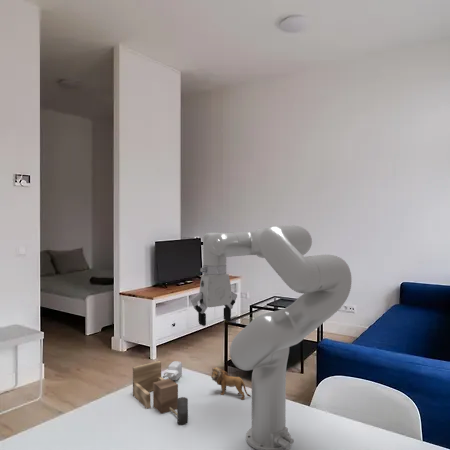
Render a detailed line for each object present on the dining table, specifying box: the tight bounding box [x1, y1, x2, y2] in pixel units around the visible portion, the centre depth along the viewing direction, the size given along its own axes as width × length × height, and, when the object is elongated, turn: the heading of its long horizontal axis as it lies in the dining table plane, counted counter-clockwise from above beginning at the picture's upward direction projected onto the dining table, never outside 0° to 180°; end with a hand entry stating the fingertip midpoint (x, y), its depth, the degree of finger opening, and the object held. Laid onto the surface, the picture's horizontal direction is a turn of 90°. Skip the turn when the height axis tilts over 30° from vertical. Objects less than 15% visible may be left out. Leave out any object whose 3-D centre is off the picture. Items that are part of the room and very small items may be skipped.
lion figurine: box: [210, 366, 252, 401], centre depth 142 cm, size 15×5×9 cm, turn 70°
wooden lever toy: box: [152, 378, 189, 426], centre depth 128 cm, size 16×6×8 cm, turn 35°
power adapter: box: [162, 360, 183, 382], centre depth 154 cm, size 11×5×6 cm, turn 165°
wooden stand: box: [132, 360, 166, 409], centre depth 139 cm, size 12×10×10 cm
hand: (215, 322), depth 131 cm, fingers open, 9 cm apart
